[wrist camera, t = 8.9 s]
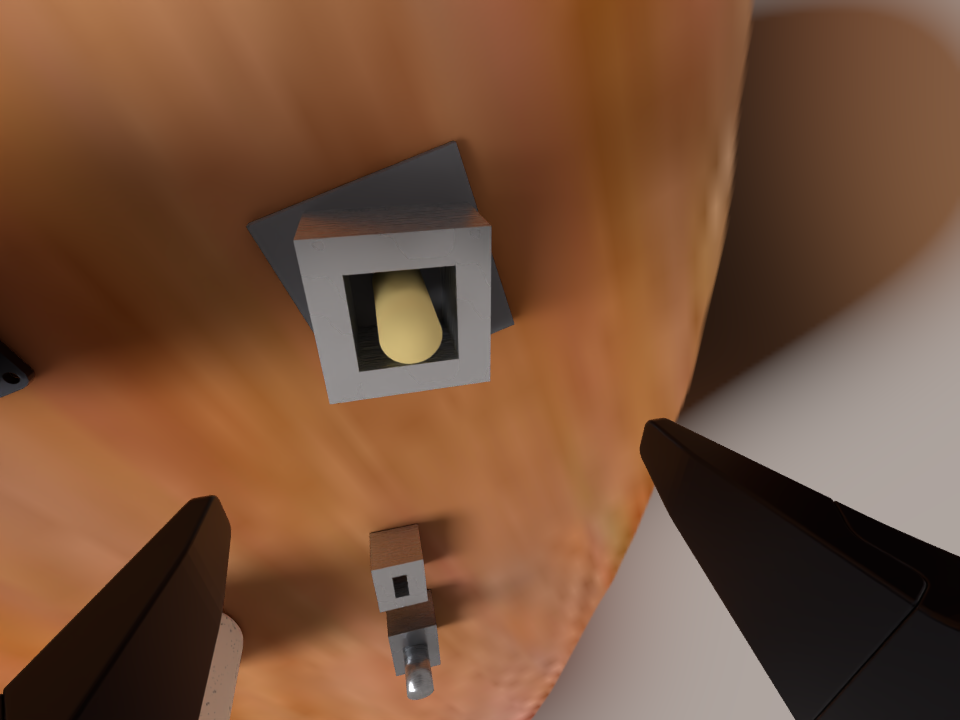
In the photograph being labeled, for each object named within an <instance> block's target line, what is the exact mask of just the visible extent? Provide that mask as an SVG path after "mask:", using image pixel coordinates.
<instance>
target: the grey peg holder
mask: <svg viewBox="0 0 960 720" xmlns="http://www.w3.org/2000/svg"><path fill="white" fill-rule="evenodd" d="M453 202H468V203H469V204H470V205H471V206H472V207H473V208H474V209H475V210H476V211H477V212H478V209H477V206H476V203H475V200H474V197H473V194H472V190H471V187H470V184H469V181H468V178H467V175H466V172H465V169H464V166H463V162H462V159H461V156H460V153H459V150H458V147H457V144H456V142H455V141H451V142H449V143H446V144H444V145H441V146H439V147H436V148H434V149H431V150H429V151H426V152H424V153H422V154H419V155H417V156H414V157H412V158H409V159H407V160H404V161H402V162H399V163H397V164H394V165H392V166H389V167H387V168H384V169H382V170H379V171H377V172H374V173H372V174H369V175H367V176H364V177H362V178H359V179H357V180H355V181H352V182H350V183H347V184H345V185H342V186H340V187H337V188H335V189H332V190H330V191H327V192H325V193H322V194H320V195H317V196H315V197H312V198H310V199H307V200H305V201H302V202H300V203H297V204H295V205H292V206H290V207H288V208H285V209H283V210H280V211H278V212H275V213H273V214H270V215H268V216H265V217H263V218H260V219H258V220H255V221H253V222H250V223H248V225H247V226H246V227H247V229H248V231H249V232H250V234H251V235H252V237H253V238H254V240H255V242H256V243H257V245H258V246H259V248H260V249H261V251H262V253H263V254H264V256H265V257H266V259H267V260H268V262H269V264H270V265H271V267H272V268H273V270H274V271H275V273H276V274H277V276H278V278H279V279H280V281H281V282H282V284H283V285H284V287H285V289H286V290H287V292H288V293H289V295H290V296H291V298H292V300H293V301H294V303H295V304H296V306H297V307H298V309H299V311H300V312H301V314H302V315H303V317H304V318H305V320H306V322H307V323H308V325H309V326H310V328H311V329H312V331H313V326H312V322H311V317H310V313H309V308H308V304H307V299H306V295H305V290H304V286H303V281H302V277H301V273H300V268H299V264H298V259H297V255H296V250H295V246H294V241H293V240H294V237H295V234H296V231H297V228H298V225H299V222H300V219H301V216H302V214H303V212H305V211H322V210H338V209H355V208H371V207H387V206H404V205H420V204H436V203H453ZM478 213H479V212H478ZM349 279H350V285H351V291H352V297H353V303H354V309H355V315H356V321H357V327H365V326H374V325H377V326H378V334H379V342H380V346H381V348H382V350H383V351H384V353H385V354H386V355H387V356H388V357H389V358H391V359H392V360H394V361H397V362H400V363H405V364H413V363H419V362H422V361H424V360H426V359H428V358H429V357H431V356H432V355H433V354H434V353H435V352H436V351H437V349H438V348H439V346H440V344H441V340H442V328H441V325H440V323H439V320H438V318H443V315H442V296H441V277H440V267H431V268H420V269H409V270H398V271H387V272H376V273H365V274H353V275H349ZM511 325H514V321H513V318H512V315H511V312H510V309H509V306H508V302H507V299H506V296H505V293H504V290H503V287H502V284H501V281H500V278H499V274H498V271H497V268H496V265H495V262H494V259H493V256H492V253H491V333H490V334H492V333H495V332H497V331H500V330H502V329H504V328H507V327H509V326H511ZM313 333H314V331H313Z"/></svg>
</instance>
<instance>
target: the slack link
mask: <svg viewBox="0 0 960 720" xmlns="http://www.w3.org/2000/svg"><path fill="white" fill-rule="evenodd" d="M369 537H370V559H371V573H372V577H373V582H374V587H375V591H376V596H377V601H378V605H379V610H380V612H384V611H388V610H392V609H397V608H401V607H405V606H409V605H413V604H417V603H422V602H426V601H428V597H427V588H426V580H425V571H424V562H423V555H422V549H421V542H420V536H419V529H418V524H415V525H410V526H405V527H400V528H395V529H390V530H385V531H380V532H376V533H371V534H369Z"/></svg>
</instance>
